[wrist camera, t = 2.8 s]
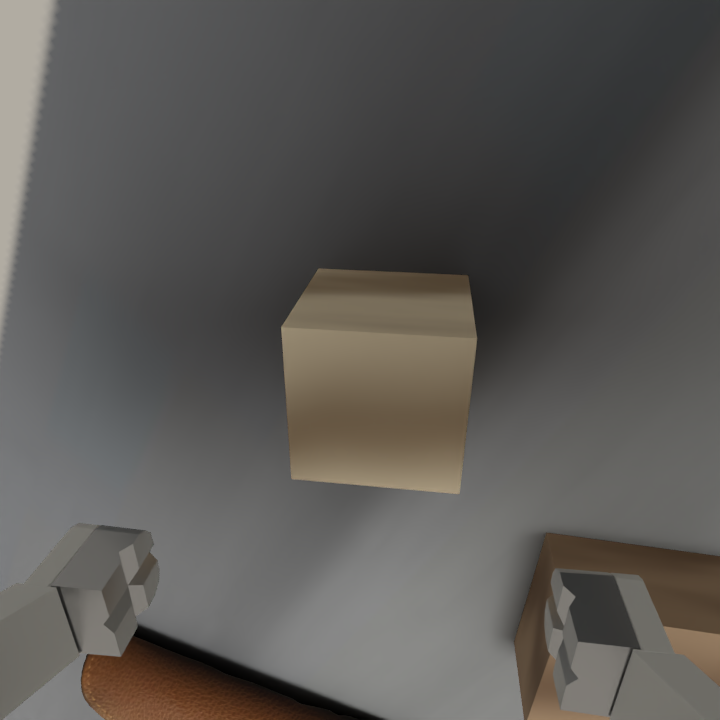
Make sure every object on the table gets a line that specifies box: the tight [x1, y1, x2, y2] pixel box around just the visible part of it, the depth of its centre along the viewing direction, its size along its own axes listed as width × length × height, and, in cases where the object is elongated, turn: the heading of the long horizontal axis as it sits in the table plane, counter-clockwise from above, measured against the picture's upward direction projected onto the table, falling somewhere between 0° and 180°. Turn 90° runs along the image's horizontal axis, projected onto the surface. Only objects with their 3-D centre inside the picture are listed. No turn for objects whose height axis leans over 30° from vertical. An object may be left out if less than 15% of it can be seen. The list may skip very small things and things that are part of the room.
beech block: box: [281, 268, 477, 494], centre depth 17 cm, size 5×5×5 cm
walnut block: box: [514, 533, 720, 720], centre depth 22 cm, size 7×7×4 cm
